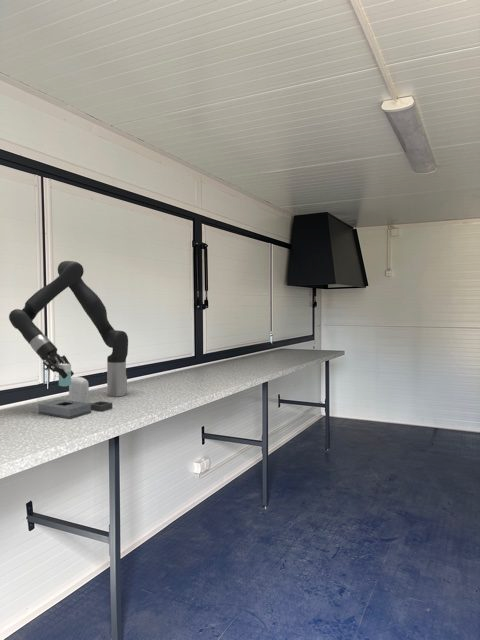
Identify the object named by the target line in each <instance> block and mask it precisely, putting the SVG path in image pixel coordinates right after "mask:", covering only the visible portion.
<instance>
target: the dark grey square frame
mask: <svg viewBox="0 0 480 640" xmlns="http://www.w3.org/2000/svg"><path fill="white" fill-rule="evenodd" d="M112 409H113V402H109V401H102V400H100V401H95V402H91V411H94V412H95V411H96V412H105V411H108V410H112Z"/></svg>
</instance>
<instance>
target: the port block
mask: <svg viewBox="0 0 480 640" xmlns="http://www.w3.org/2000/svg"><path fill="white" fill-rule="evenodd" d="M91 404H92V402H88V403H84V402H77V401H70V400H69V399H63V398H59V399H55V400H52V401H48V402H43V403H38V405H37V406H38V407H37V409H38V412H37V413H38V415H44V416H51V417H56V418H61V419H62V418H63V419H68V420H72V419H74V418H77V417H81V416H85V415H88V414H91V413H92V410H91Z"/></svg>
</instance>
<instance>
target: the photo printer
mask: <svg viewBox="0 0 480 640" xmlns="http://www.w3.org/2000/svg"><path fill="white" fill-rule="evenodd" d="M89 385H90V384H89V380H88V379H86V378H85V377H81V376H73V377H71V385H70V386H68V400H70V401H77V402H84V403H89V390H90V389H89V387H90V386H89Z"/></svg>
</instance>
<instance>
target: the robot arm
mask: <svg viewBox="0 0 480 640" xmlns="http://www.w3.org/2000/svg"><path fill="white" fill-rule="evenodd" d="M84 271H85V270H84V267H83V265H82V264H81V263H79V262H77V261H73V260H63V261H61V262H60V263H59V264H58V266H57V273H58V275H57V277H56V278H55V279H54V280H52V281H51V282H50V283H48V284H46V285H45V286H43V287H41V288H40V289H39V290H37V291H36V292H34V294H32V295H31V297H29V298H28V299H27V300H26V301H25V303H24V306H23V308H22V309H19V308H15V309H13V310H11V311H10V312H9V314H8V320H9V322H10V324H11V325H12V327H14V329H16V330H18V331H19V333H20V334H21V336H22V337H23V339H24V340H25V341H26V342H27V343H28V345H30V347H31V348H32V349H33V351H34V352H35V354H37V355H38V357H39V358H40V360H42V361H43V363H42V364H43V365H44V366H46V368H48V369H49V370H50V371H51V372H52V373H55V372H56V373H58V375H59V374H60V375H61V376H62V377H63V378H66V377H67V376H68V375H67V373H66V372H65V371H64V370H63V369H62V368H61V366H60V364H71V363H70V362H69V359H68V358H67V356H65V354H64V355H62V356H61V355H60V354H59V353H58V348H57V347H56V345H55V344H54V343H53V342H52V341H51V340H50V338H48V337H47V336H46V335H45V334H44V333H43V332H42V330H41V329H39V328H38V326H36V325H35V323H34V320H35V318H36V317H37V316H38V314H39V313H40V312H41V311H42V310H43V309H45V308H46V306H47V305H48V304H49V303H50V302H51V301H53V300H54V299H55V298H56V297H57V296H58V295H60V294H61V293H62V292H64V291H65V290H66V289H68V288H69V289H70V291H71V292H72V293H73V295H74V297H75V298H76V300H77V302H78V303H79V305H80V307H81V308H82V309H83V311H84V312H85V313H86V315H87V317H89V319H90V320H91V322H92V323H93V325H94V326H95V328H96V329H97V331H98V333H99V334H100V336H101V339H102V340H103V342H104V344H105V345H106V346H107V347H108V348H111V349H112V350H111V351H112V352H111V354H110V355H108V356H107V359H106V361H107V362H106V365H107V369H106V370H107V371H106V373H107V374H106V377H107V378H106V379H107V380H106V383H107V384H106V387H107V388H106V393H107V394H106V395H107V397H112V398H113V397H114V398H116V397H124V396H126V395H127V394H128V376H127V357H128V355H129V354H128V352H129V336H128V334H127V332H125V331H123V330H117V329H114V327H113V326H112V324H111V323H110V321H109V320H108V313H107V309H106V308H107V307H106V306H105V304H104V303H103V301H102V300H101V298H100V296H98V294H97V293H96V292H94V291H93V289H92V288H91V287H89V286H88V285H87V284H86V283H85V282H84V281H85V280H83V279H82V277H83V275H84V273H85V272H84ZM74 373H75V372H74V371H73V370H72V369H71V377H73V376H74V375H75V374H74Z"/></svg>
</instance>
